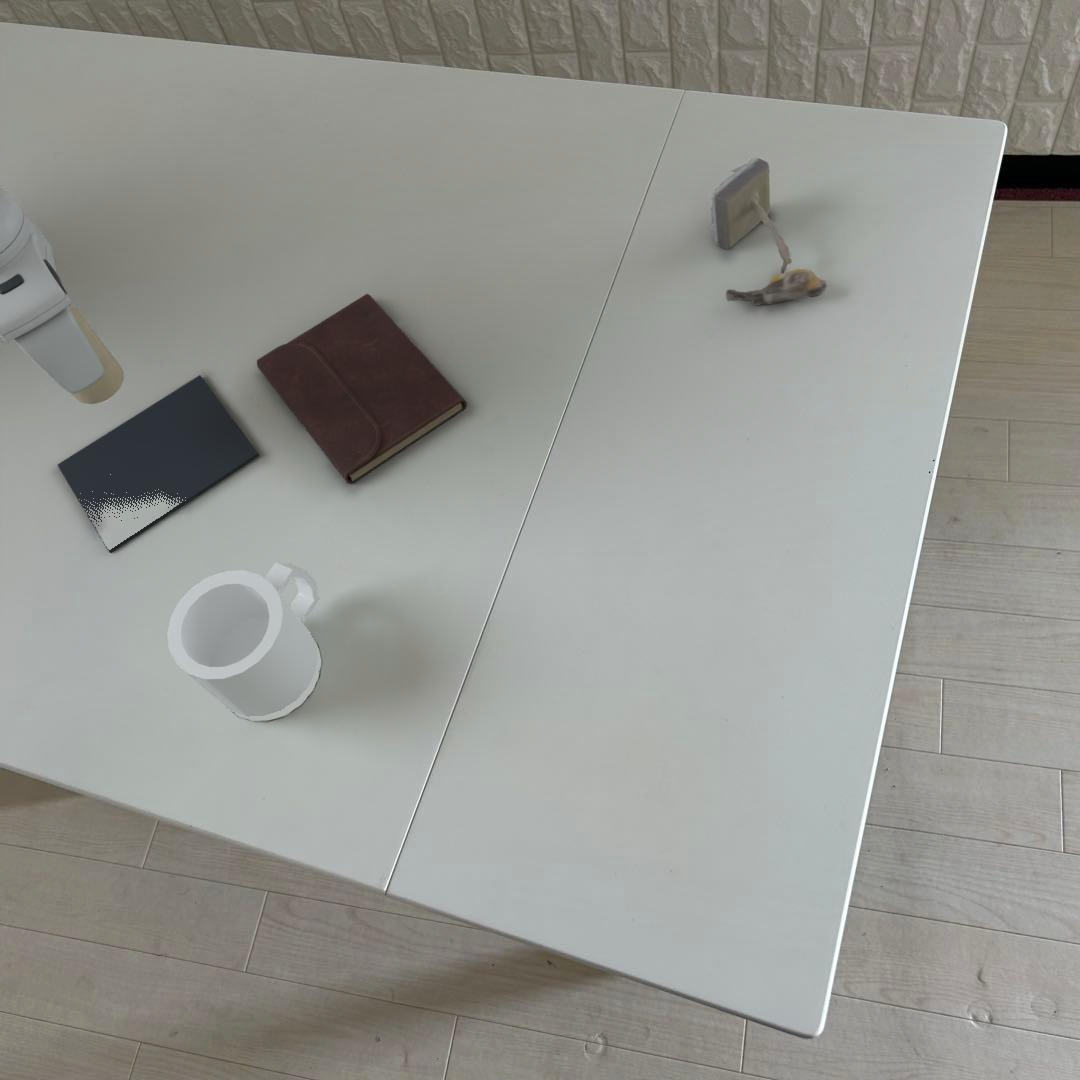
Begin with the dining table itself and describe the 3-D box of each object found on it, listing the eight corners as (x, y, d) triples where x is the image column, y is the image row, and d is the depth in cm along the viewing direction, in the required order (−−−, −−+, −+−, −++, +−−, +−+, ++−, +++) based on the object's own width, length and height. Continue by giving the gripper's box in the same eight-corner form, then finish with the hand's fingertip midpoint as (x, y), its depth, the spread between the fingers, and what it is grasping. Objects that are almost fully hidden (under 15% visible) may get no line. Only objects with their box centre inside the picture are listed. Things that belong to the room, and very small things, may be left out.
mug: (277, 577, 103) (235, 523, 94) (361, 616, 100) (327, 565, 91) (195, 694, 98) (143, 650, 89) (281, 740, 95) (236, 699, 86)
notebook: (373, 301, 119) (368, 289, 118) (468, 407, 110) (464, 395, 108) (260, 372, 116) (254, 360, 115) (348, 486, 107) (343, 476, 106)
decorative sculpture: (828, 300, 111) (836, 250, 104) (744, 332, 110) (747, 284, 104) (760, 203, 119) (764, 151, 112) (681, 232, 118) (680, 182, 112)
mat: (110, 553, 107) (108, 551, 107) (59, 467, 114) (56, 464, 113) (259, 455, 111) (257, 453, 110) (201, 377, 117) (199, 374, 117)
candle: (121, 354, 107) (70, 286, 99) (128, 393, 104) (76, 328, 96) (70, 372, 107) (14, 306, 98) (75, 412, 104) (18, 348, 96)
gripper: (-78, 212, 94) (10, 314, 106) (2, 343, 85) (88, 439, 97) (-15, 177, 96) (65, 282, 108) (70, 302, 86) (147, 402, 98)
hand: (77, 357), depth 102 cm, fingers closed on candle, 5 cm apart
